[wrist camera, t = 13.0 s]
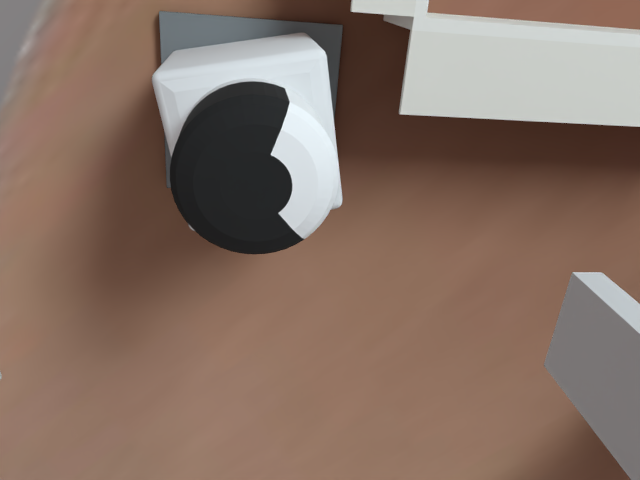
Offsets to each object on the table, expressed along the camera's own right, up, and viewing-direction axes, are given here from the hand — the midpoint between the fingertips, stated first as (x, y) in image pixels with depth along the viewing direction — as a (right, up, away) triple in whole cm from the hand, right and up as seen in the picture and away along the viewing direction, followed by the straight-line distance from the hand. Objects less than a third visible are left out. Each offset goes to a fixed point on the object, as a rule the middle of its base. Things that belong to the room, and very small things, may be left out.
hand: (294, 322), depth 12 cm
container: (-3, +10, +20) cm, 22 cm away
